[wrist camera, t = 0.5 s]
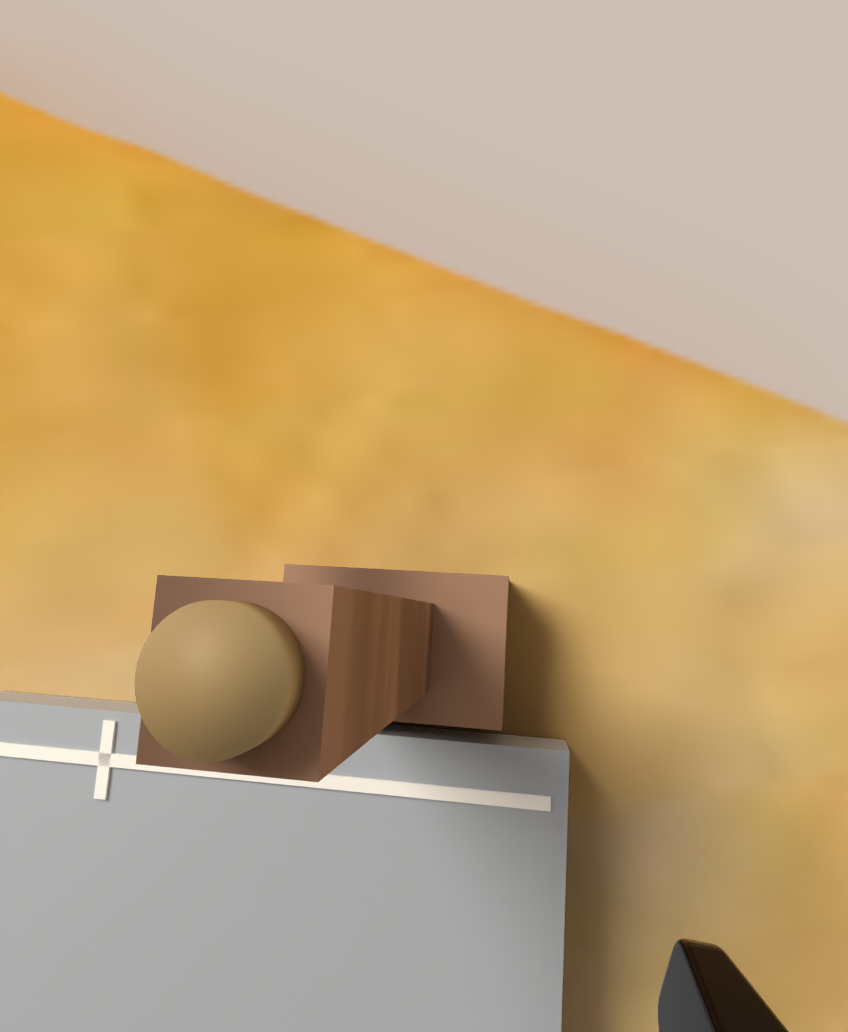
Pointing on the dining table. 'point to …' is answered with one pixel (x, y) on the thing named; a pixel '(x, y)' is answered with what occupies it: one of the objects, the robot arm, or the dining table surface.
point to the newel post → (315, 665)
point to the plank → (277, 883)
